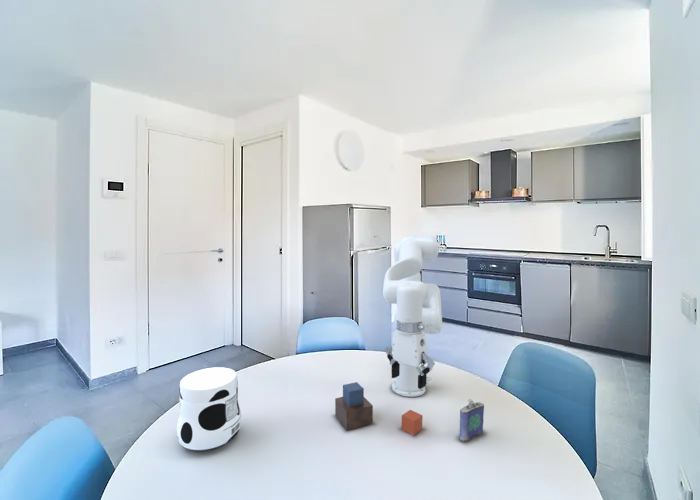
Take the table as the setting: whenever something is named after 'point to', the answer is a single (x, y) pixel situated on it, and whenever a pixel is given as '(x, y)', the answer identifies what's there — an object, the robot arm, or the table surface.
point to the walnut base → (353, 414)
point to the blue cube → (353, 394)
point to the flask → (471, 421)
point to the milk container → (208, 409)
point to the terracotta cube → (412, 422)
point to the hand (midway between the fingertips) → (408, 381)
